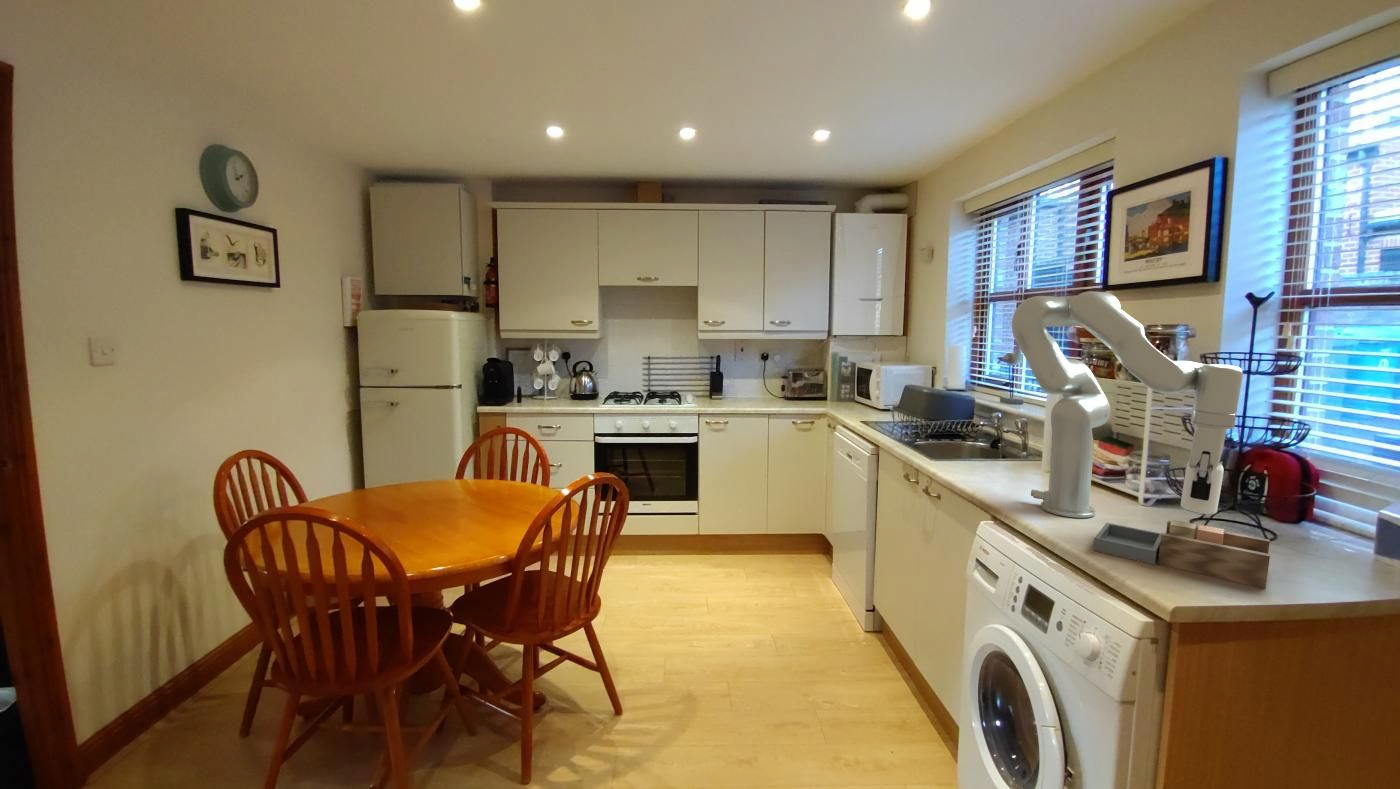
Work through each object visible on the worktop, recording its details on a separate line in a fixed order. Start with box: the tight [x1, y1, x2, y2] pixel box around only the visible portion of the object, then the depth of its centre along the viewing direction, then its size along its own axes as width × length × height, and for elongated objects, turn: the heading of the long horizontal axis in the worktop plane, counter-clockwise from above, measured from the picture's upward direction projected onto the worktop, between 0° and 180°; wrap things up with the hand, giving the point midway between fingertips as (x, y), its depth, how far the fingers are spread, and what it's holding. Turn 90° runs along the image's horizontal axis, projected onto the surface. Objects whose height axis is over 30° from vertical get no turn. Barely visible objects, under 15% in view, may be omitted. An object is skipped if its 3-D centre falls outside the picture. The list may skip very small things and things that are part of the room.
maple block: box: [1169, 519, 1197, 539], centre depth 126 cm, size 4×4×4 cm
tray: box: [1093, 522, 1163, 565], centre depth 132 cm, size 11×14×3 cm
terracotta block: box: [1197, 524, 1225, 545], centre depth 123 cm, size 4×4×4 cm
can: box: [1180, 458, 1225, 516], centre depth 134 cm, size 6×6×12 cm
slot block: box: [1157, 520, 1271, 589], centre depth 122 cm, size 16×12×6 cm
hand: (1200, 494), depth 135 cm, fingers closed on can, 6 cm apart
